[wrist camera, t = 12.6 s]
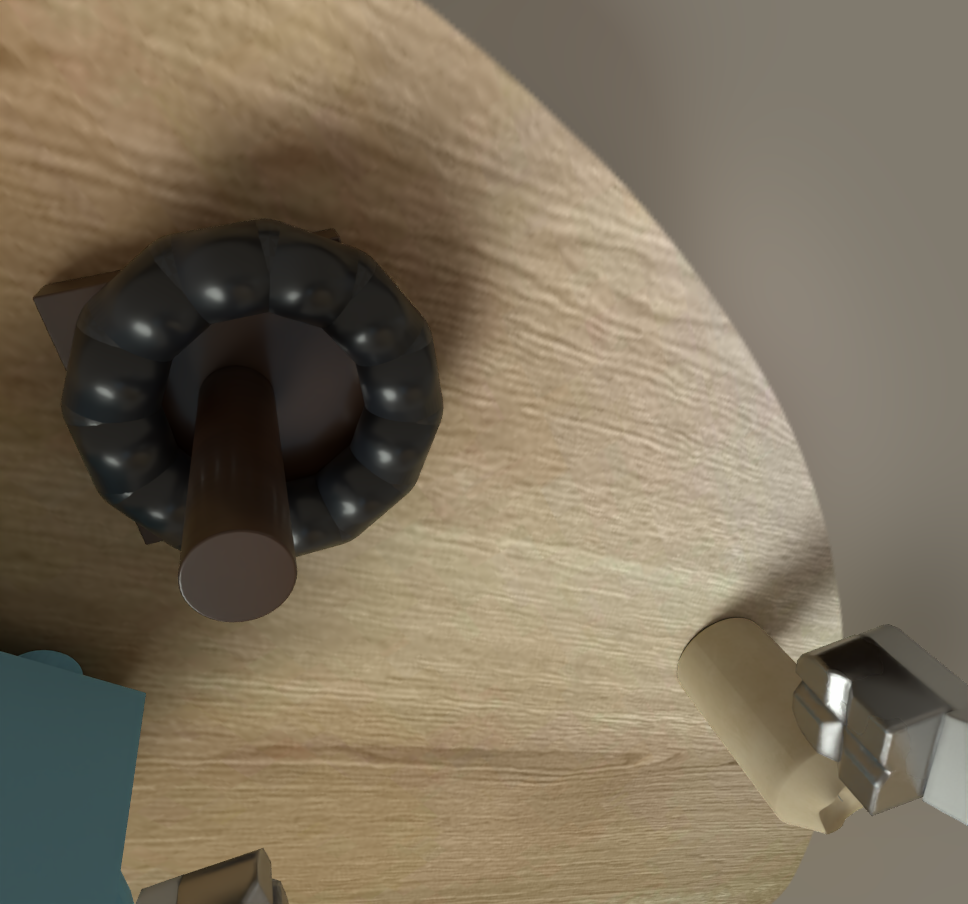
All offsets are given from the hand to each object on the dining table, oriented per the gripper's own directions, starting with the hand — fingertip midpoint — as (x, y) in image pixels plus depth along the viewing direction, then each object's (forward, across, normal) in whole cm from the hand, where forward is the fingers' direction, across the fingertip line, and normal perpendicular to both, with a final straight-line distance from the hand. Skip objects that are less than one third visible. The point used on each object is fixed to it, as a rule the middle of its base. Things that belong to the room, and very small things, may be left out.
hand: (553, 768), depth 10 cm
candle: (+19, -15, +22) cm, 33 cm away
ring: (+15, +4, 0) cm, 16 cm away
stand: (+18, +5, 0) cm, 19 cm away
